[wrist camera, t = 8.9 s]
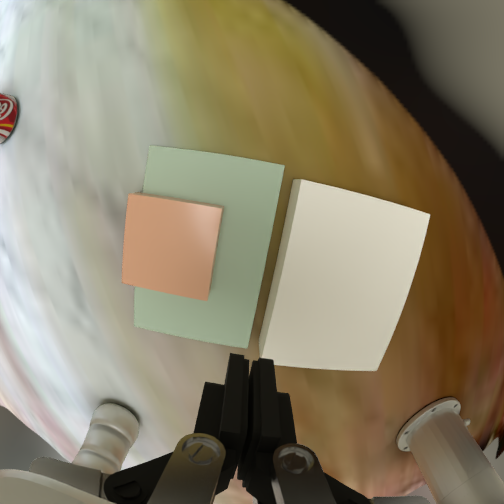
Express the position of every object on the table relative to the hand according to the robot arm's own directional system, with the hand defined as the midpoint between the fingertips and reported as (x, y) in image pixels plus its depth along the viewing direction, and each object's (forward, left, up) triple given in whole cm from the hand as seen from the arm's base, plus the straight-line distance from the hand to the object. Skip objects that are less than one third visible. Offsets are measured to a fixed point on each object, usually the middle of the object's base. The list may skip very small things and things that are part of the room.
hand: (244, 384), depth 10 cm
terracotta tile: (+7, -1, -14) cm, 15 cm away
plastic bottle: (+13, +25, -16) cm, 33 cm away
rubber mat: (+4, 0, -16) cm, 17 cm away
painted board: (-9, 0, -16) cm, 18 cm away
